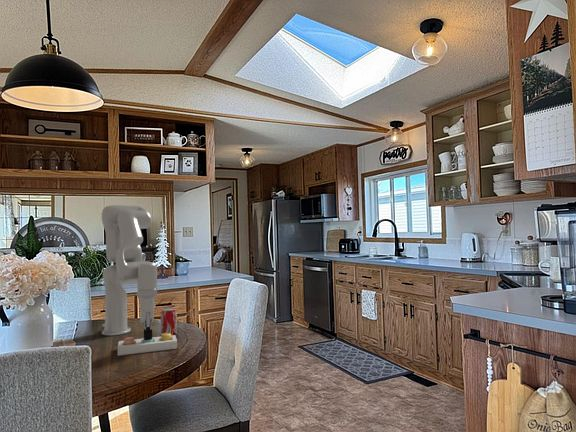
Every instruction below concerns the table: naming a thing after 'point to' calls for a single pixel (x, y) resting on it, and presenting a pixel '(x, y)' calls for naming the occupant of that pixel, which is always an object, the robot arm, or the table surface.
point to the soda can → (169, 321)
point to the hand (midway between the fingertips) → (148, 339)
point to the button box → (147, 346)
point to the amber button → (165, 336)
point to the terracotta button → (129, 340)
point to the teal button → (147, 341)
